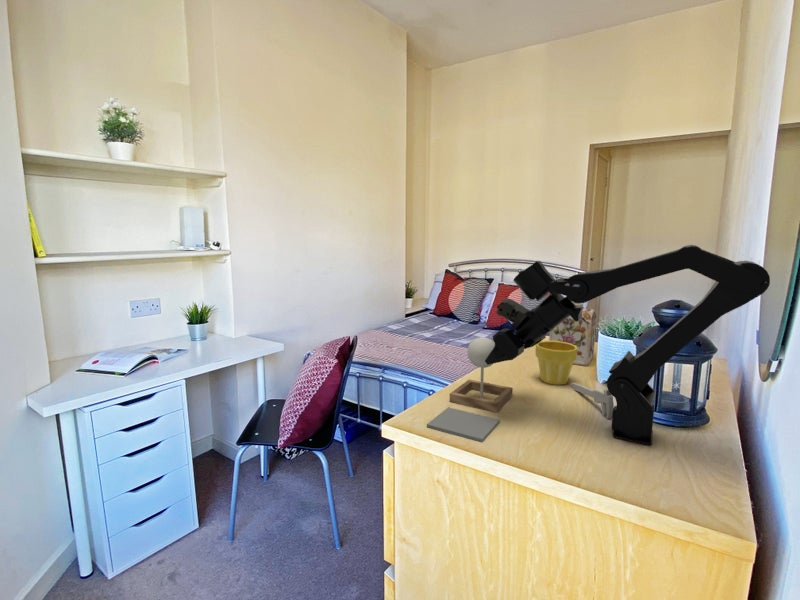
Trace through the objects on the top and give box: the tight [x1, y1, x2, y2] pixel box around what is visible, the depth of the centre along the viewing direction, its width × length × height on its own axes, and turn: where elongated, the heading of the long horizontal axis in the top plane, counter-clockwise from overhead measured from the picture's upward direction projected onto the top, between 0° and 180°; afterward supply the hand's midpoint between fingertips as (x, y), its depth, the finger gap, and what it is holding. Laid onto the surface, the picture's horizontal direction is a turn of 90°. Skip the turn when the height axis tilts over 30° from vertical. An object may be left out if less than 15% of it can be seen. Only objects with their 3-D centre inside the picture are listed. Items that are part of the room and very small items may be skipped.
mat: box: [426, 407, 501, 443], centre depth 87 cm, size 12×10×1 cm
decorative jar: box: [548, 302, 597, 367], centre depth 131 cm, size 12×12×18 cm
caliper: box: [569, 382, 615, 420], centre depth 99 cm, size 20×1×6 cm, turn 1°
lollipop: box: [466, 336, 495, 399], centre depth 100 cm, size 7×7×15 cm
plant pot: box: [535, 340, 577, 386], centre depth 112 cm, size 10×10×10 cm
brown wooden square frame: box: [449, 379, 514, 413], centre depth 101 cm, size 11×11×2 cm
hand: (494, 357), depth 97 cm, fingers open, 9 cm apart
